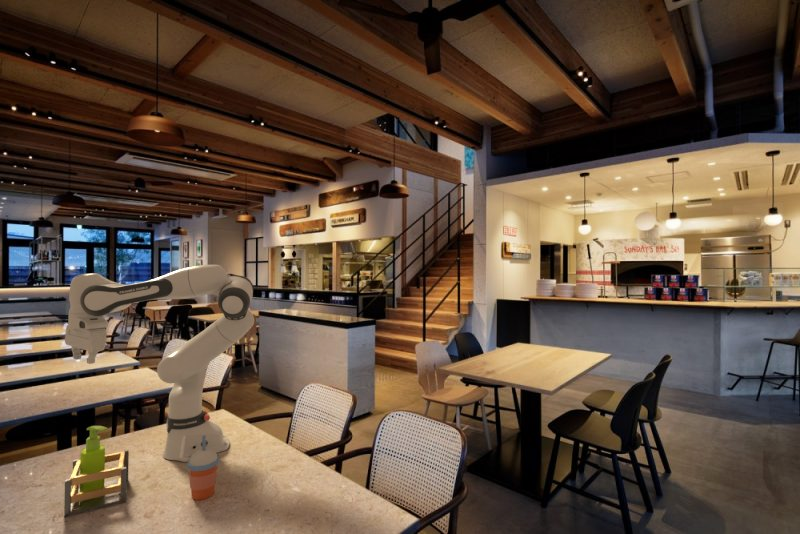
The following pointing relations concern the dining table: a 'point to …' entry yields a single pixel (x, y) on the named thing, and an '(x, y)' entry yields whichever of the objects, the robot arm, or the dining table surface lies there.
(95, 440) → the soap dispenser
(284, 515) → the dining table surface
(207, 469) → the cup with straw
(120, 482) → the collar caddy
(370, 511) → the dining table surface
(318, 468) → the dining table surface
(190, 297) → the robot arm
